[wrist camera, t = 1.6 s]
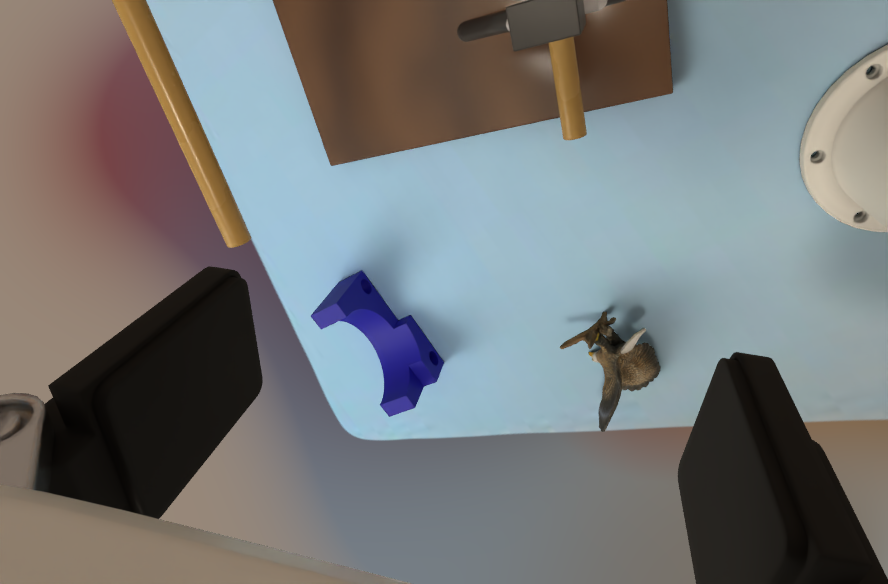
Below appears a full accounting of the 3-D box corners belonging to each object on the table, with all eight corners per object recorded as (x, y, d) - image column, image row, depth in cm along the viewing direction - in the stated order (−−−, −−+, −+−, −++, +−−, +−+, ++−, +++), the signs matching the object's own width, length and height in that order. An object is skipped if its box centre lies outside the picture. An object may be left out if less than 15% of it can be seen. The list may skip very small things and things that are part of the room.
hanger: (695, -49, 30) (757, -66, 17) (696, -17, 31) (757, -11, 18) (456, 19, 35) (368, 46, 22) (462, 46, 36) (380, 86, 23)
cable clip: (444, 362, 53) (428, 402, 48) (407, 376, 55) (389, 416, 50) (374, 263, 49) (349, 296, 44) (338, 282, 51) (310, 315, 46)
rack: (654, -163, 31) (736, -347, 13) (671, 90, 37) (742, 188, 19) (271, -26, 39) (16, -31, 22) (336, 162, 45) (177, 276, 28)
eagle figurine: (540, 337, 48) (582, 423, 49) (575, 353, 41) (623, 452, 42) (613, 296, 49) (651, 381, 50) (659, 305, 42) (702, 404, 43)
